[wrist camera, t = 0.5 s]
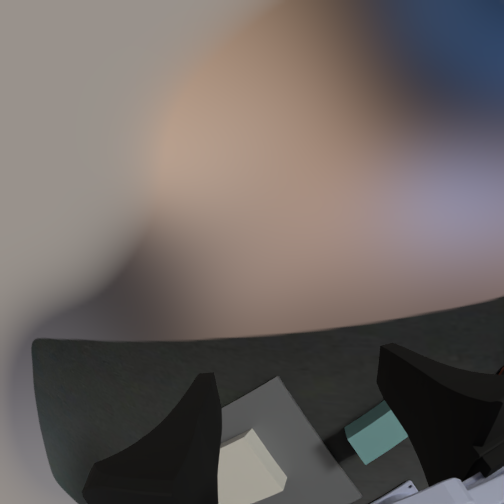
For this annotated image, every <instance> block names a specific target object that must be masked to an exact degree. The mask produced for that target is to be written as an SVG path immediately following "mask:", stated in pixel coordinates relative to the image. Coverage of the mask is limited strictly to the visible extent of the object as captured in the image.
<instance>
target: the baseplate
mask: <svg viewBox="0 0 504 504" xmlns="http://www.w3.org/2000/svg"><path fill="white" fill-rule="evenodd" d="M252 428H253V430H254V431H255V433H256V434H257V436H258V437H259V439H260V440H261V442H262V443H263V444H264V446H265V447H266V449H267V450H268V452H269V453H270V454H271V456H272V457H273V459H274V460H275V461H276V463H277V464H278V465H279V467H280V468H281V470H282V471H283V472H284V474H285V475H286V476H287V480H286V483H285V486H284V490H283V491H282V492H279V493H277V494H275V495H272V496H270V497H267V498H265V499H262V500H260V501H257V502H255V503H252V504H350V503H352V502H354V501H356V500H358V499H359V498H361V497H362V494H361V493H360V492H359V490H358V489H357V488H356V486H355V485H354V484H353V482H352V481H351V480H350V478H349V477H348V476H347V474H346V473H345V471H344V470H343V469H342V467H341V466H340V465H339V463H338V462H337V460H336V459H335V458H334V456H333V455H332V453H331V452H330V451H329V449H328V448H327V446H326V445H325V444H324V442H323V441H322V439H321V438H320V437H319V435H318V434H317V432H316V431H315V429H314V428H313V427H312V425H311V424H310V422H309V421H308V419H307V418H306V416H305V415H304V414H303V412H302V411H301V409H300V408H299V406H298V405H297V403H296V402H295V400H294V399H293V397H292V396H291V394H290V393H289V391H288V390H287V388H286V387H285V385H284V384H283V382H282V381H281V379H280V378H279V376H277V377H275V378H274V379H272V380H270V381H269V382H267V383H265V384H264V385H262V386H260V387H259V388H257V389H255V390H253V391H252V392H250V393H248V394H247V395H245V396H243V397H241V398H239V399H238V400H236V401H234V402H232V403H230V404H229V405H227V406H225V407H223V408H222V435H221V443H223V442H226V441H228V440H230V439H232V438H234V437H236V436H238V435H240V434H242V433H244V432H246V431H248V430H250V429H252Z"/></svg>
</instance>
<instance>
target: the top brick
mask: <svg viewBox="0 0 504 504" xmlns="http://www.w3.org/2000/svg"><path fill="white" fill-rule="evenodd" d="M344 429H345V433H346V436H347V440H348V441H349V442H350V444H351V445H352V447H353V448H354V450H355V451H356V452H357V454H358V455H359V457H360V458H361V459H362V461H363V462H364V464H365V465H366V464H368V463H370V462H371V461H373V460H374V459H376V458H377V457H379V456H380V455H382V454H384V453H385V452H387V451H388V450H389V449H391V448H392V447H394V446H395V445H397V444H398V443H400V442H401V441H402V440H404V439H405V438H407V437H408V435H407V433H406V432H405V430H404V429H403V427H402V426H401V424H400V422H399V421H398V419H397V418H396V416H395V415H394V413H393V412H392V410H391V409H390V407H389V406H388V404H387V403H386V401H385V400H384V401H383V402H381V403H380V404H379V405H377V406H376V407H374V408H373V409H371V410H370V411H369V412H367V413H366V414H364V415H363V416H361V417H360V418H358V419H357V420H355V421H354V422H352V423H351V424H349V425H347V426H346V427H344Z"/></svg>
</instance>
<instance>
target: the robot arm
mask: <svg viewBox="0 0 504 504" xmlns="http://www.w3.org/2000/svg"><path fill="white" fill-rule="evenodd" d="M377 384H378V387H379V389H380V391H381V393H382V396H383V398H384V400H385V401H386V403H387V404H388V406H389V407H390V409H391V410H392V412H393V413H394V415H395V416H396V418H397V419H398V421H399V422H400V424H401V426H402V427H403V429H404V430H405V432H406V433H407V435H408V437H409V438H410V440H411V443H412V445H413V447H414V449H415V451H416V453H417V456H418V458H419V460H420V463H421V465H422V468H423V470H424V473H425V476H426V479H427V482H428V485H429V487H428V488H426V489H424V490H421V491H419V492H418V490H417V489H416V487H415V486H414V484H413V483H412V481H410V480H408V481H406V482H405V483H403V484H402V485H400V486H398V487H397V488H395V489H394V490H392V491H391V492H389V493H387V494H386V495H384V496H382V497H381V498H379V499H377V500H375V501H374V502H372V503H370V504H504V375H494V374H484V373H477V372H471V371H466V370H462V369H458V368H454V367H451V366H448V365H445V364H442V363H439V362H437V361H434V360H431V359H429V358H427V357H424V356H422V355H420V354H418V353H415V352H413V351H411V350H409V349H406V348H404V347H402V346H399V345H397V344H394V343H390V344H386V345H382V346H380V357H379V366H378V375H377ZM221 435H222V408H221V404H220V399H219V395H218V390H217V386H216V381H215V376H214V373H202V374H198V376H197V377H196V379H195V380H194V382H193V383H192V385H191V386H190V388H189V389H188V391H187V392H186V393H185V395H184V396H183V398H182V399H181V400H180V402H179V403H178V404H177V405H176V407H175V408H174V409H173V410H172V411H171V412H170V414H169V415H168V416H167V417H166V418H165V419H164V420H163V421H162V422H161V423H160V424H159V425H158V426H157V427H156V428H155V429H154V430H152V431H151V432H150V433H148V434H147V435H146V436H144V437H143V438H142V439H140V440H139V441H138V442H136V443H135V444H133V445H131V446H130V447H128V448H126V449H125V450H123V451H121V452H119V453H117V454H115V455H113V456H111V457H109V458H106V459H104V460H102V461H99V462H97V463H95V464H94V465H93V467H92V469H91V471H90V474H89V476H88V479H87V481H86V484H85V486H84V489H83V491H82V493H83V497H84V498H85V500H86V501H87V503H88V504H218V464H219V454H220V445H221ZM410 485H411V487H409V486H410Z"/></svg>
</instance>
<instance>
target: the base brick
mask: <svg viewBox="0 0 504 504" xmlns="http://www.w3.org/2000/svg"><path fill="white" fill-rule="evenodd" d="M286 480H287V476H286V475H285V474H284V472H283V471H282V470H281V468H280V467H279V465H278V464H277V463H276V461H275V460H274V459H273V457H272V456H271V454H270V453H269V452H268V450H267V449H266V447H265V446H264V444H263V443H262V442H261V440H260V439H259V437H258V436H257V434H256V433H255V431H254V430H253V428H252V429H250V430H248V431H246V432H244V433H242V434H240V435H238V436H236V437H234V438H232V439H230V440H228V441H226V442H223V443H221V445H220V454H219V464H218V504H252V503H255V502H257V501H260V500H262V499H265V498H267V497H270V496H272V495H275V494H277V493H279V492H282V491H283V490H284V486H285V483H286Z"/></svg>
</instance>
